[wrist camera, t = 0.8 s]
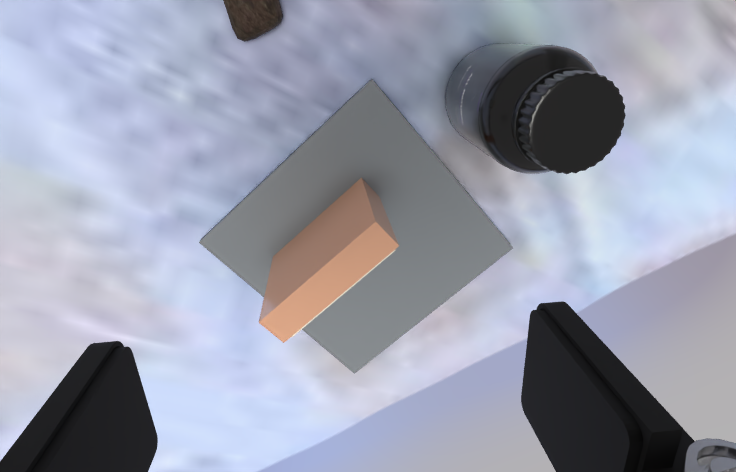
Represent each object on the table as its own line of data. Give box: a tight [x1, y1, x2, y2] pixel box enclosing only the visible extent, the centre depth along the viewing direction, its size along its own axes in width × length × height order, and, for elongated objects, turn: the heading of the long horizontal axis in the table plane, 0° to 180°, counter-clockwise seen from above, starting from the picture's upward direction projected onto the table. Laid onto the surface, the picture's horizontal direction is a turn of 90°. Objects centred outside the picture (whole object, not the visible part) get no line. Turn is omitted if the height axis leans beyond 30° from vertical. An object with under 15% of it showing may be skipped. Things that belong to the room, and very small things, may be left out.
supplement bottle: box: [446, 43, 625, 174], centre depth 27 cm, size 7×7×12 cm
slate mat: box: [199, 79, 513, 374], centre depth 36 cm, size 17×17×1 cm
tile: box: [259, 178, 399, 343], centre depth 30 cm, size 9×2×9 cm, turn 132°
